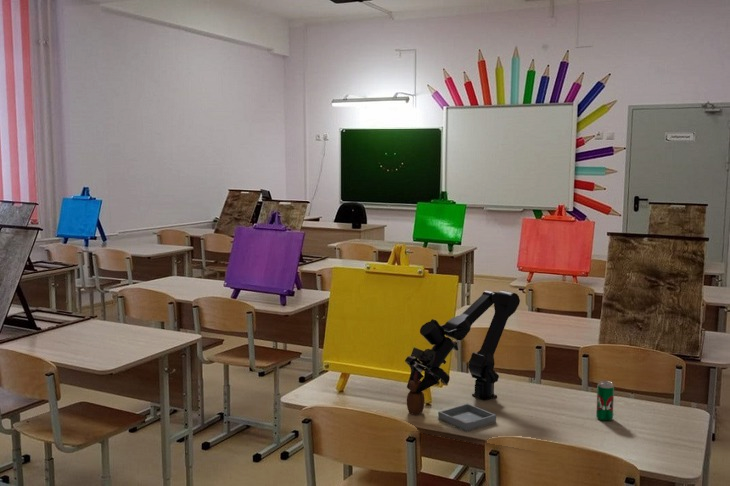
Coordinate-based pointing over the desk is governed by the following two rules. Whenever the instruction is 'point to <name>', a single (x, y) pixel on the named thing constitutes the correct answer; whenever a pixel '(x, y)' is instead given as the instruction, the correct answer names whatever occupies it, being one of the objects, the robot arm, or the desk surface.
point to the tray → (467, 417)
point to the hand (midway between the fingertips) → (412, 390)
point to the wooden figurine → (415, 397)
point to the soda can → (605, 400)
